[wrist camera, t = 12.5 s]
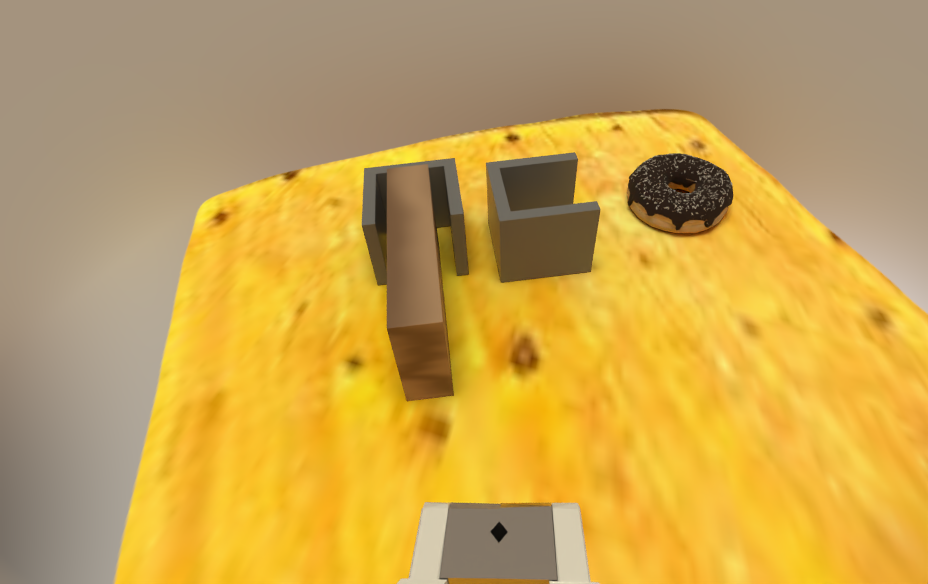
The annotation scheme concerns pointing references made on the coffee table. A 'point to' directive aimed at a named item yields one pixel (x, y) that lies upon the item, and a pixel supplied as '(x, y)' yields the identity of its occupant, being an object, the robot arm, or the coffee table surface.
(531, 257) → the end cap
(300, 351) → the coffee table surface
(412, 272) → the slat
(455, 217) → the end cap
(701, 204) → the donut
